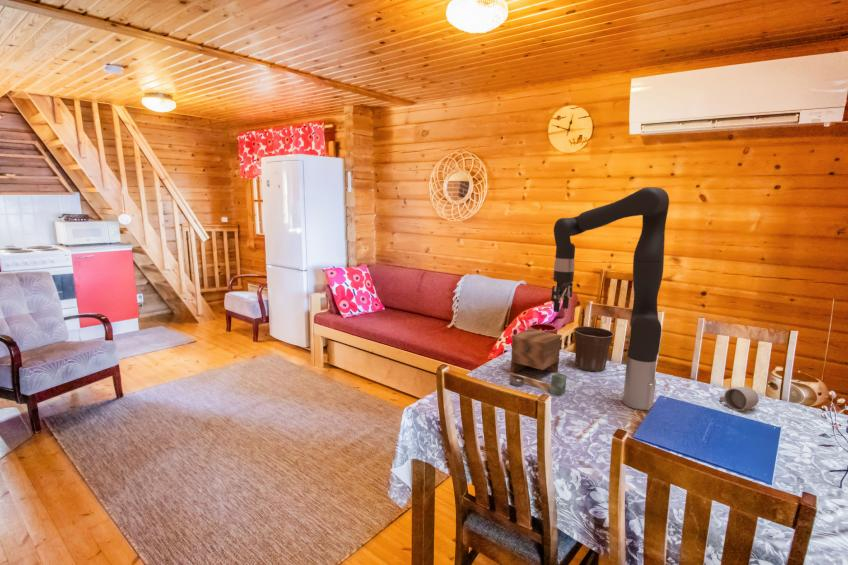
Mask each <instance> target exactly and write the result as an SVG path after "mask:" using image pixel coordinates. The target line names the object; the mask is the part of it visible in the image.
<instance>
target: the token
mask: <svg viewBox="0 0 848 565" xmlns="http://www.w3.org/2000/svg"><path fill="white" fill-rule="evenodd" d="M509 384H510V386H512V387H519V388H521V387H523V386H524V383H523V378H522V377H520V376H512V377H510V376H509Z"/></svg>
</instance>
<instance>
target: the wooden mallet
mask: <svg viewBox="0 0 848 565" xmlns="http://www.w3.org/2000/svg"><path fill="white" fill-rule="evenodd" d="M512 376H520V377H522V378H523V385H529V386H531V387H534V388H538V389H541V390H544V391H547V392H549V393H550V394H553V395H556V396H558V397H562V396H563V395H565V393H566V387H567V374H563V373H561V372H553V373H552V374H551V381H550V383H549V382H545V381H541V380H538V379H534V378H532V377H528V376H525V375H521V374H517V373H511V372H510V373H509V378H510V377H512Z"/></svg>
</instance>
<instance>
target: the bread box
mask: <svg viewBox="0 0 848 565" xmlns="http://www.w3.org/2000/svg"><path fill="white" fill-rule="evenodd" d="M544 331H545V330H544ZM544 331H539V330H535V329H529V328H527V329H525V330H523V331H521V332H517V333H515V334H513V335H511V339H512V342H511V361H510V373H514V374H517V372H519V371H521V370H522V369H525V368H527V367H530V368H534V369H537V370H541V371H544V370H545V371H550V372H553V373H556V372H557V373H559V363H560V362H559V361H560V351H561V339H562V336H563V335H562V334H558V333H557V334H554V333H549V332H544Z"/></svg>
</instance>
